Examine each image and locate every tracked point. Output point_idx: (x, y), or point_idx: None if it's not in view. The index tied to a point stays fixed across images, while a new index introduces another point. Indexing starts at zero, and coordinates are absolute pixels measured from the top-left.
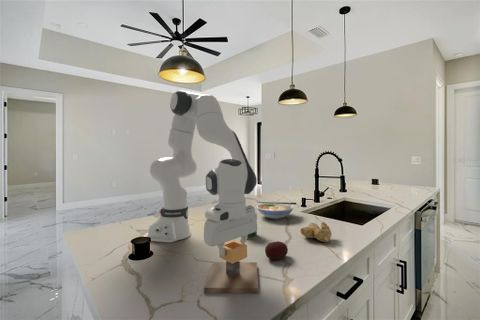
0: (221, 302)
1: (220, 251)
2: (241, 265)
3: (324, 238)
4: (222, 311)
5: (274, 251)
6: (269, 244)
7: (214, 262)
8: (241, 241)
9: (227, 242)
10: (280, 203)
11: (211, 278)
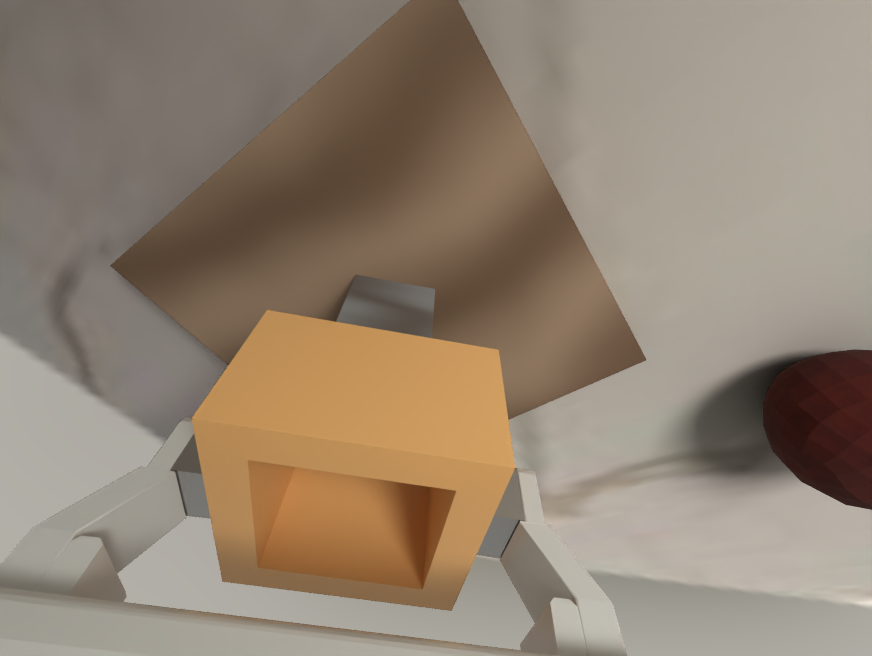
0: (180, 377)
1: (161, 455)
2: (541, 295)
3: None
4: (150, 412)
5: (800, 466)
6: None
7: (449, 7)
8: (520, 546)
9: (367, 448)
10: None
11: (220, 226)
